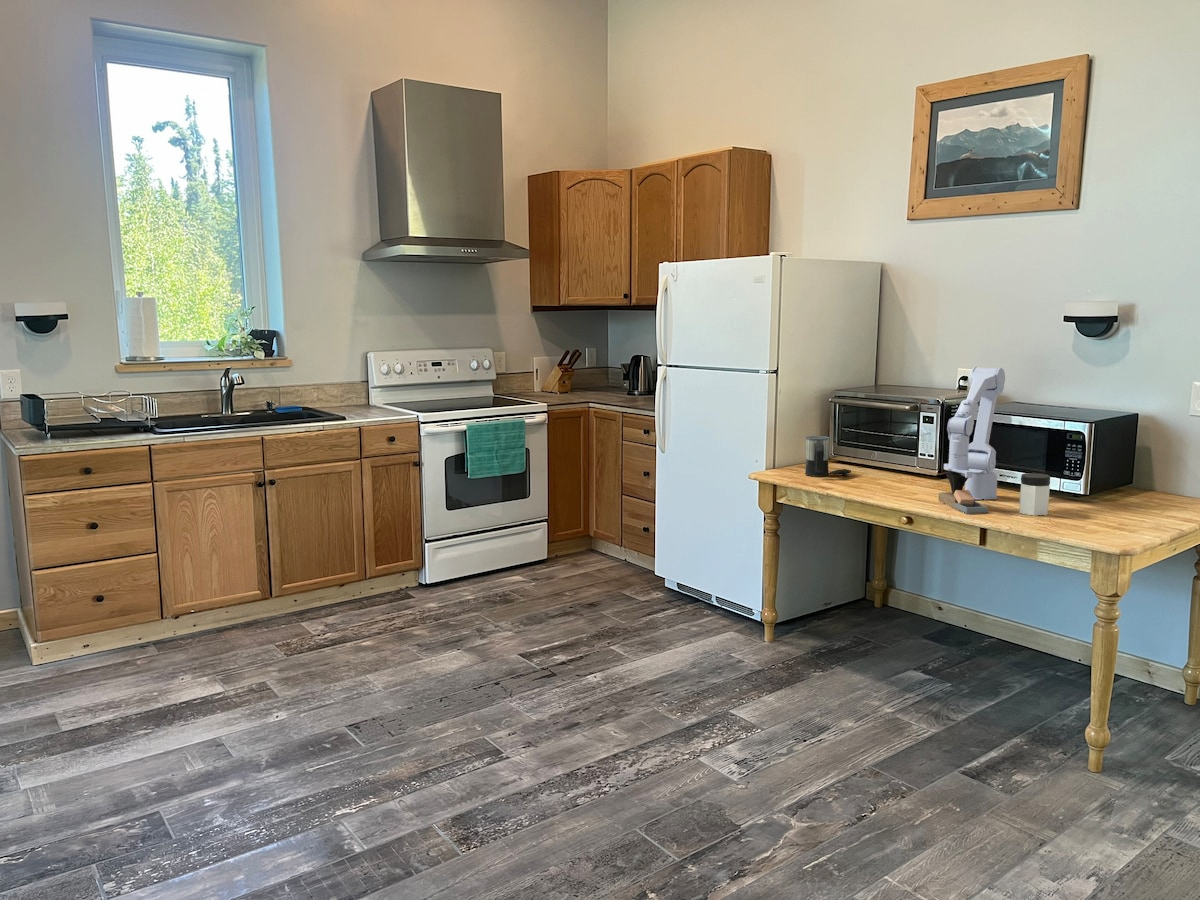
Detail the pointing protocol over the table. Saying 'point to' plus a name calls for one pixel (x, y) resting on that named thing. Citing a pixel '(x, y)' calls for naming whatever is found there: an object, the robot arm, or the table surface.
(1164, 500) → the table surface
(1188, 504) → the table surface
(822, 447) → the milk frother
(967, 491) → the peach flat square block
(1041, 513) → the jar
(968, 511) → the tray
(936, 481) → the table surface
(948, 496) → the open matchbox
